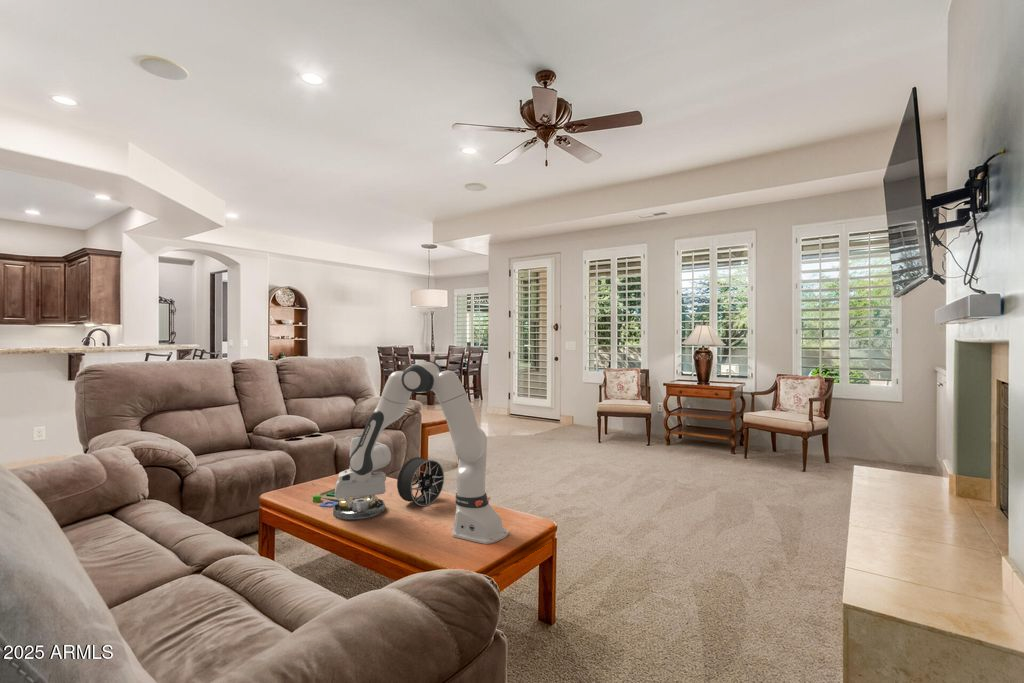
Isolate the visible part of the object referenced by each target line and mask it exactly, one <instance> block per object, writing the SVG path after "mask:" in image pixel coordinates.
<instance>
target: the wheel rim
mask: <svg viewBox="0 0 1024 683" xmlns="http://www.w3.org/2000/svg"><path fill="white" fill-rule="evenodd" d="M423 466H424V467H423ZM421 467H423V470H420V468H421ZM417 471H418V472H420V473H421V474H420V477H419V478H418V476H417V475H418V474H417ZM414 477H415V478H416V481H415V482H414V483H413V480H414ZM444 484H445V472H444V468H443V466H442V465H441V464H440V463H439V462H438V461H436V460H434V459H424V458H422V457H419V456H415V457H412V458H409V460H407V461H406V462H405V463H404V464H403V465H402V467H401V468H400V471H399V472H398V476H397V480H396V486H397V487H396V488H397V492H398V495H399V496H400V498H401V499H403V500H404V501H406V502H413V503H414V504H416V505H418V506H420V507H426V506H430V505H431V504H433V503H434V502H435V501H436V500H437V499H438V498H439V497H440V495H441V493H442V490H443V488H444ZM413 486H416V487H413ZM413 491H416V493H415V495H414V493H413ZM419 491H420V493H421V494H420V495H418V493H419Z"/></svg>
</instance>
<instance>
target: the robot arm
mask: <svg viewBox="0 0 1024 683" xmlns="http://www.w3.org/2000/svg"><path fill="white" fill-rule="evenodd" d="M459 378H460V377H458V375H457V373H456V372H455V371H452V370H442V367H441V366H440V365H439V364H438V363H437V362H435V361H431V360H425V361H420V362H417V363H415V364H411V365H410V366H408V367H406V369H404V371H403V370H402V371H401V370H397V371H396V370H395V371H393V372H392V373H390V375H389V376H388V378H387V380H386V382H385V385H384V386H383V387H384V388H383V390H382V392H381V396H380V398H379V401H378V403H377V406H376V407H375V409H374V411H372V413H371V414H370V416H369V418H368V420H367V422H366V424H365V427H364V429H363V432H362V434H359V435H355V436H353V437H352V438H351V440H350V445H349V468H348V469H345V470H343V471H340V472H339V473H338V476H337V478H338V479H337V480H336V483H335V487H334V488H335V497H336V498H337V499H340V498H346V501H347V503H348V508H352V503H350V502H349V498H350V497H359V496H367V497H368V496H369V495H371V497H372V498H371V500H370V501H369V506H372V502H373V500H374V498H375V496H376V495H385V493H386V483H385V482H386V480H387V474H386V473H385V471H384V472H383V471H377V470H380V469H381V468H385V467H386V466H388V465H390V463H391V461H392V450H391V448H390V447H389V446H388V444H385V443H381V442H379V441H378V439H379V437H380V434H381V433H382V431H383V430H385V429H386V428H387V427H388V426H390V425H391V424H392V423H395V422H396V421H398V420H399V419H401V418H402V417H403V416H404V414H406V411H407V408H408V405H409V402H410V399H411V396H412V393H417V394H418V393H429V392H433V393H434V395H435V396H436V398H437V401H438V403H439V405H440V408H441V411H442V412H443V415H444V418H445V421H446V423H447V426H448V430H449V434H450V438H451V441H452V444H453V447H454V450H455V454H456V456H457V458H458V463H457V472H456V493H455V506H456V507H455V513H454V521H453V525H452V529H451V531H452V537H454V538H457V539H463V540H465V541H466V540H467V541H470V542H475V543H480V544H485V545H488V544H493V543H496V542H499V541H500V540H503V539H504V538H506V537H507V536H508V535H509V530H508V529H506V528H504V527H503V519H502V518H501V516H500V514H499V513H498V512H497V511H496V510H495V509H494V508H493V507H492V506H491V505H490V502H489V501H491V496H489V497H488V496H487V495H488V494H487V493H486V492H487V491H486V471H487V470H486V469H487V468H486V467H487V450H488V447H487V446H488V444H487V443H488V437H487V435H486V433H485V431H484V430H483V429H482V428H480V427H479V425H478V423H477V419H476V416H475V412H474V409H473V407H472V406H473V405H472V404H471V402H470V400H469V396H468V394H467V392H466V390H465V388H464V386H463V384H462V382H461V379H459Z"/></svg>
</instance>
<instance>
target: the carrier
mask: <svg viewBox="0 0 1024 683" xmlns="http://www.w3.org/2000/svg"><path fill="white" fill-rule="evenodd" d="M361 498H363V499H368V500H369V501H370V500H371V498H372V497H371V495H369V496H367V497H359V498H350V499H349V502H350V503H352V501H354V500H355V499H361ZM337 502H338V503H337V504H335V505H334V506H333V507H332V510H333V511H332V515H333V517H334V518H335V517H336V519H337V518H338V520H340V521H341V520H342V521H347V522H348V521H349V522H351V521H353V522H354V521H365V520H369V519H373V518H376V517H379V516H380V515H382V514H383V513H384V512H385V508H386V504H385V501H384V500H383V499H381V498H379V497H378V496H376V495H375V498H374V500H373V502H372V506H369V510H367V511H366V512H361V513H357V512H354V513H353V511H352V508H348V503H347V501H346V498H345V499H342V500H340V501H337Z"/></svg>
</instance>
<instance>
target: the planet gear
mask: <svg viewBox="0 0 1024 683" xmlns="http://www.w3.org/2000/svg"><path fill="white" fill-rule="evenodd" d="M367 510H369V500H368V499H363V498H361V499H355V500H354V501H352V511H353V513H354V512H357V513H361V512H366V511H367Z"/></svg>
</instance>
